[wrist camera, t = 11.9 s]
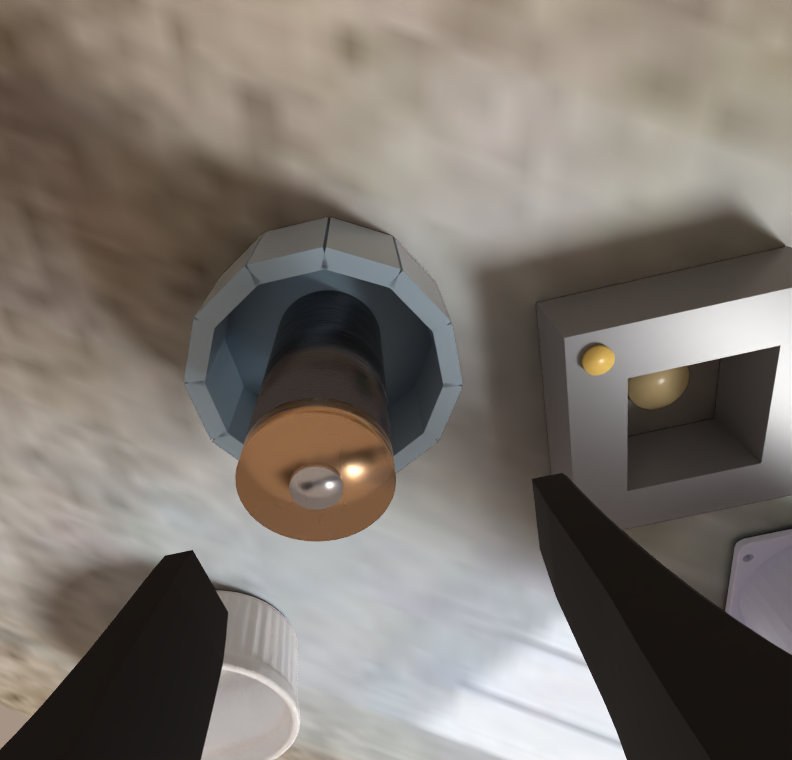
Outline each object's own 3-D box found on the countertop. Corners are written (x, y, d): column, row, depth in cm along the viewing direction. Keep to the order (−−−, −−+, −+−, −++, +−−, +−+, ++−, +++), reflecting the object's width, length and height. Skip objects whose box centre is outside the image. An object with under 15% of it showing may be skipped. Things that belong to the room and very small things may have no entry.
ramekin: (102, 661, 28) (63, 753, 24) (168, 553, 24) (134, 641, 21) (260, 704, 31) (247, 792, 27) (338, 613, 27) (336, 700, 24)
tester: (756, 445, 24) (810, 495, 21) (552, 488, 24) (578, 542, 21) (787, 246, 19) (861, 275, 16) (536, 302, 19) (566, 340, 17)
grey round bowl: (458, 404, 21) (475, 459, 18) (259, 448, 22) (243, 509, 19) (419, 195, 17) (434, 220, 14) (175, 252, 18) (138, 290, 15)
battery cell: (390, 371, 20) (410, 529, 13) (295, 392, 20) (265, 560, 13) (367, 279, 18) (376, 406, 11) (263, 303, 18) (208, 443, 11)
